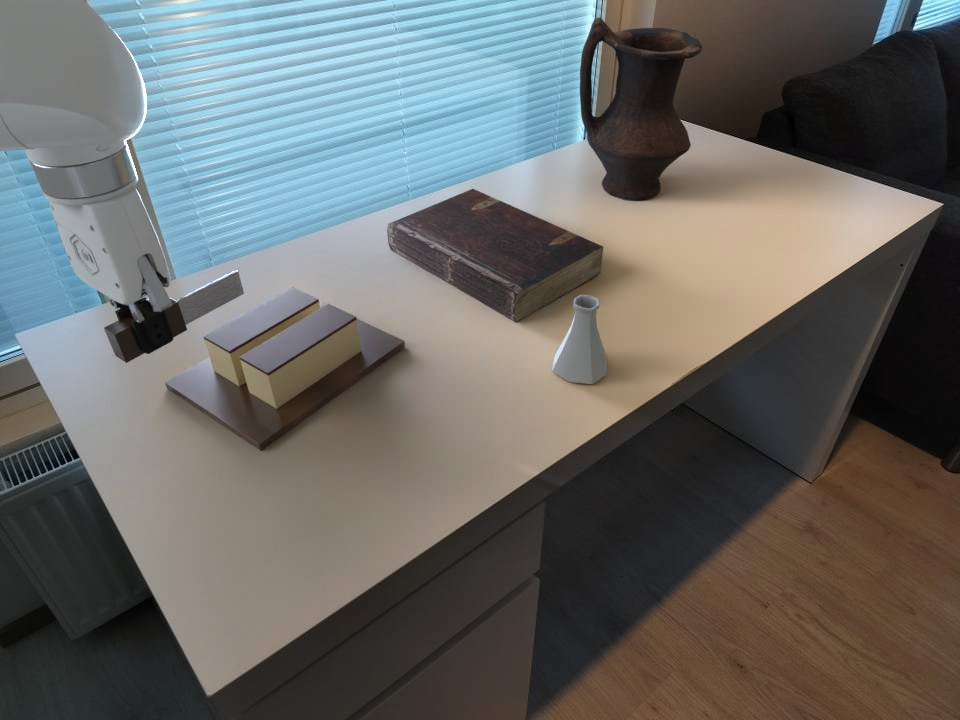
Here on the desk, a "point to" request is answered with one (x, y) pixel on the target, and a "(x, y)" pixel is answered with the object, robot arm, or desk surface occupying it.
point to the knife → (176, 314)
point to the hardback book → (496, 252)
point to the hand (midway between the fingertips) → (150, 340)
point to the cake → (283, 345)
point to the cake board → (269, 423)
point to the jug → (637, 107)
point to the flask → (582, 346)
